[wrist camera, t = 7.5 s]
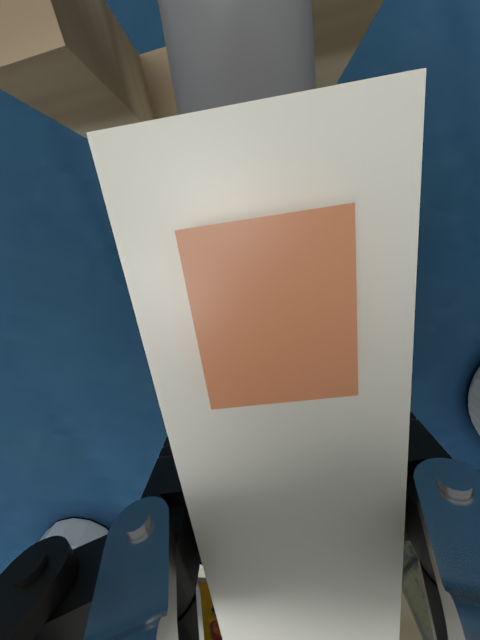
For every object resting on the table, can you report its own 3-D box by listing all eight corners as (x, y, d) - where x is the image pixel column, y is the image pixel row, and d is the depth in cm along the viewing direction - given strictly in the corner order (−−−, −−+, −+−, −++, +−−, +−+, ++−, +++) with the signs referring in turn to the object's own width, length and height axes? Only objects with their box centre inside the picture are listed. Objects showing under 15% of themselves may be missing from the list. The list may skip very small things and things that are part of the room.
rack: (144, 116, 15) (-202, -260, 4) (293, 73, 14) (468, -602, 3) (247, 486, 22) (243, 754, 11) (349, 472, 22) (459, 745, 10)
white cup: (144, 557, 25) (79, 753, 16) (79, 584, 27) (-16, 777, 17) (88, 499, 24) (-24, 681, 14) (21, 531, 25) (-121, 715, 15)
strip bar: (149, 10, 7) (-186, -698, 2) (311, -27, 7) (555, -1083, 1) (261, 604, 14) (266, 836, 9) (342, 601, 14) (401, 841, 8)
